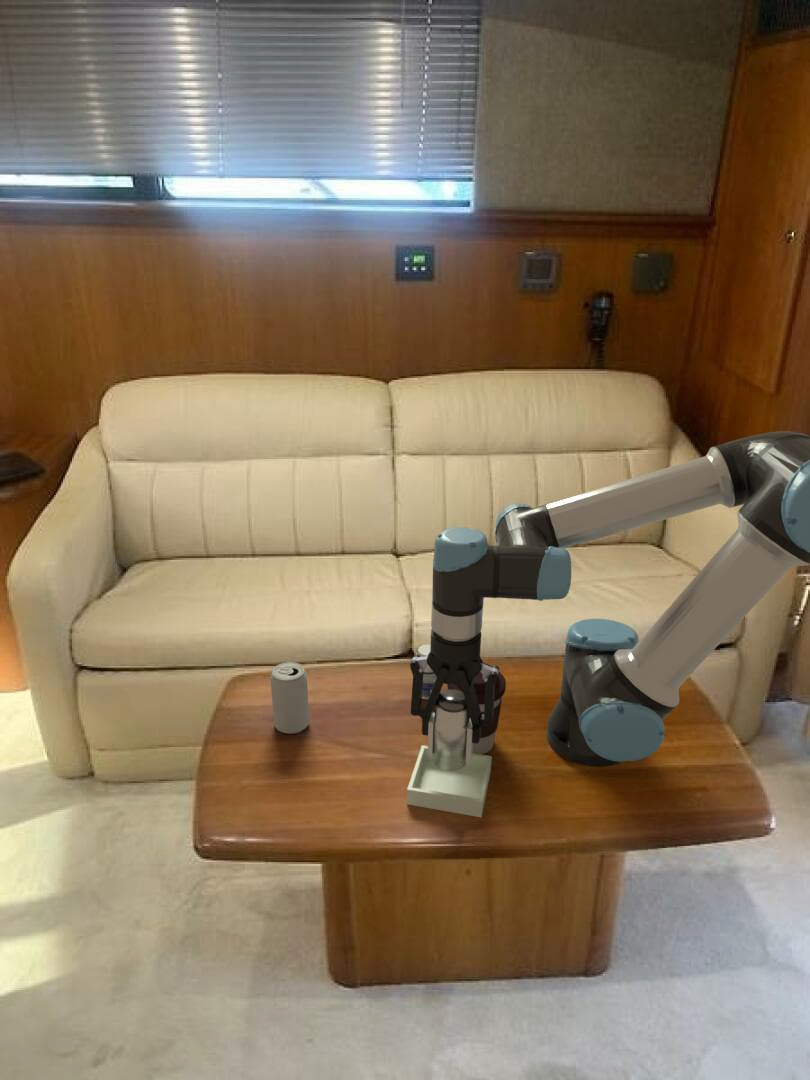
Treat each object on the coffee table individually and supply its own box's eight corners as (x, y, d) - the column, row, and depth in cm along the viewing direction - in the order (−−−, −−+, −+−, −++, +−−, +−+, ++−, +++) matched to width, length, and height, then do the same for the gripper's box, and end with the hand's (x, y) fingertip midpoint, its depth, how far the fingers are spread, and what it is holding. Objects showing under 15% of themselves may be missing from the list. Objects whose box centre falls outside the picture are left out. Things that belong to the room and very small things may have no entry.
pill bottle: (415, 683, 156) (416, 641, 152) (442, 685, 155) (444, 643, 151) (412, 699, 151) (412, 656, 147) (440, 701, 151) (441, 658, 146)
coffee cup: (451, 764, 134) (454, 691, 128) (440, 728, 143) (442, 658, 137) (507, 758, 136) (513, 686, 130) (493, 723, 145) (498, 654, 138)
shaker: (469, 751, 129) (473, 690, 124) (463, 773, 124) (467, 711, 119) (436, 745, 130) (438, 685, 125) (429, 767, 125) (431, 706, 120)
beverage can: (303, 738, 140) (299, 682, 135) (269, 734, 141) (264, 678, 136) (314, 717, 146) (311, 662, 141) (281, 712, 147) (277, 658, 142)
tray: (490, 770, 133) (491, 756, 132) (481, 817, 123) (482, 802, 122) (421, 759, 135) (421, 745, 134) (407, 804, 126) (407, 789, 124)
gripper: (521, 624, 118) (510, 747, 128) (401, 609, 122) (399, 729, 132) (515, 651, 112) (504, 778, 121) (389, 633, 115) (388, 759, 125)
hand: (450, 753), depth 126 cm, fingers closed on shaker, 5 cm apart
